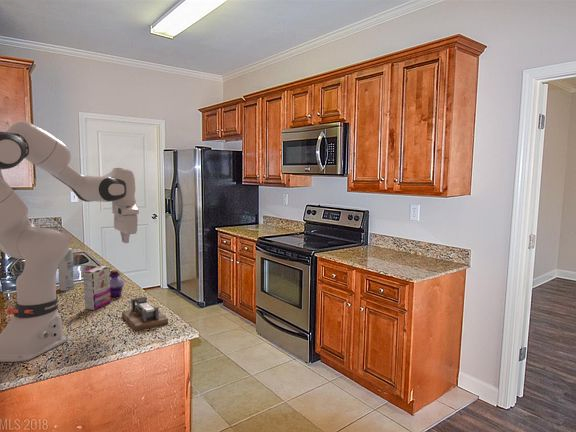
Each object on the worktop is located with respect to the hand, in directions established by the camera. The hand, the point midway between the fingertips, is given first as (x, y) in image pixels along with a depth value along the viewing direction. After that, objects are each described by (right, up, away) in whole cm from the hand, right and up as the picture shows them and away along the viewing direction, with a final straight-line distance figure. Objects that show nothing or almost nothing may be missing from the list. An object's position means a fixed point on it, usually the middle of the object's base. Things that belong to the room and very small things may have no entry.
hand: (125, 242), depth 158 cm
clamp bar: (+10, -24, -6) cm, 27 cm away
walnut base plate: (+10, -30, -6) cm, 32 cm away
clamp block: (+10, -28, -6) cm, 30 cm away
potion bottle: (-15, -27, +24) cm, 39 cm away
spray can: (-43, -25, +34) cm, 61 cm away
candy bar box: (-16, -28, +10) cm, 34 cm away
